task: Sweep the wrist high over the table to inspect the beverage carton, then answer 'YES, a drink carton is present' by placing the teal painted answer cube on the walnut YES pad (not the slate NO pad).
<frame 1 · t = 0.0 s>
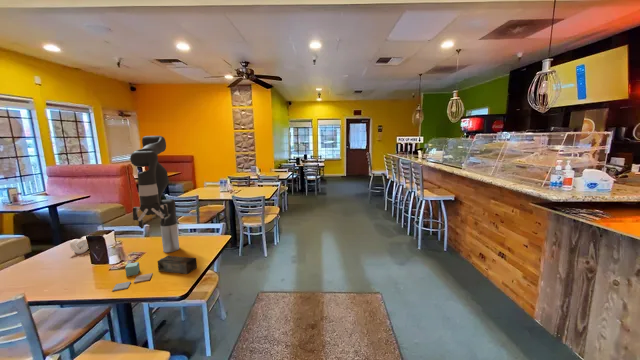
hand: (152, 226, 129), 29 cm above the table, fingers open, 8 cm apart
answer cube: (133, 273, 145), on the table
beverage carton: (178, 270, 148), on the table
white crumpled lump: (82, 252, 175), on the table
no pad: (121, 286, 131), on the table
yes pad: (143, 278, 139), on the table
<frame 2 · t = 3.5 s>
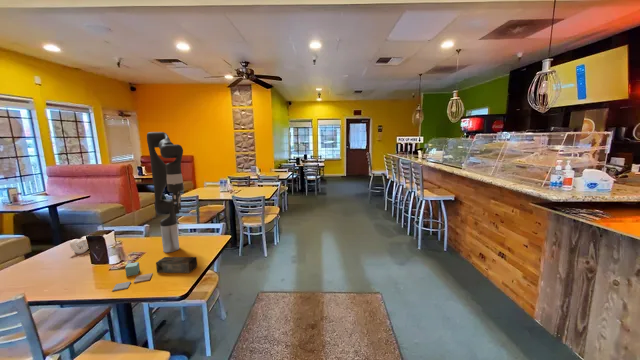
hand: (178, 211, 146), 32 cm above the table, fingers open, 8 cm apart
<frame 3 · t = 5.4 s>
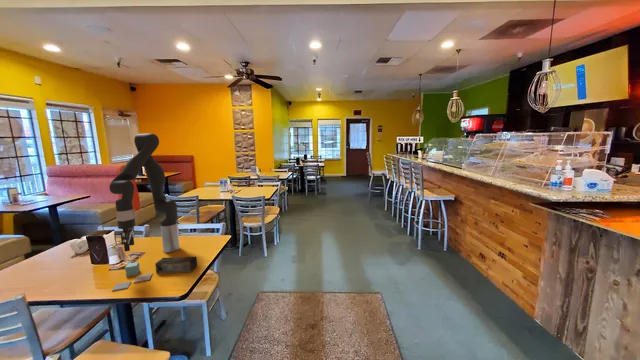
hand: (129, 248, 143), 14 cm above the table, fingers open, 8 cm apart
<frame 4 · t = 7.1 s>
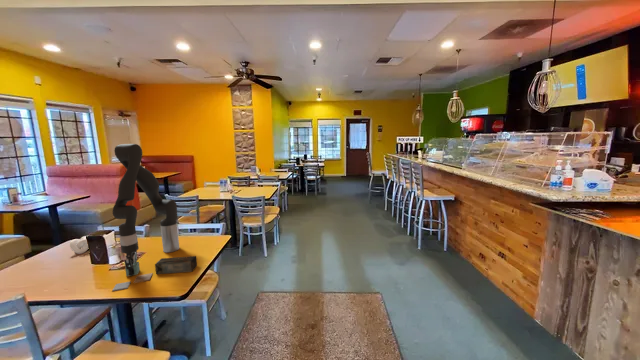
hand: (133, 272, 145), 0 cm above the table, fingers closed on answer cube, 5 cm apart
answer cube: (133, 273, 145), on the table, touching gripper
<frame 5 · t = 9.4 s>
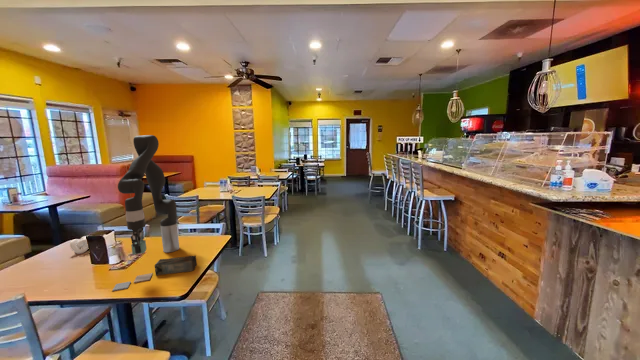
hand: (139, 250, 137), 15 cm above the table, fingers closed on answer cube, 5 cm apart
answer cube: (139, 251, 137), point 15 cm above the table, touching gripper
when the fingers open (3 cm above the table, at t = 11.7 s): answer cube drops 1 cm, resting on yes pad.
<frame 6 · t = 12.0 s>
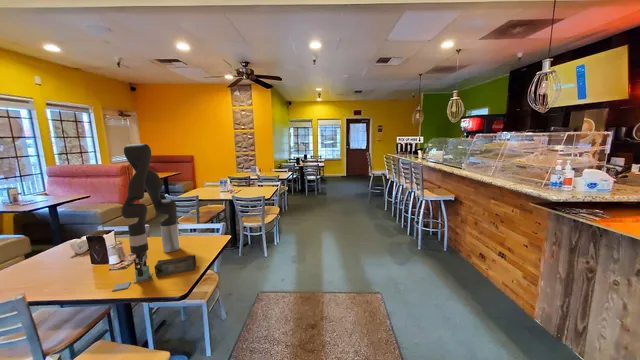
hand: (142, 272, 138), 3 cm above the table, fingers open, 8 cm apart
answer cube: (143, 277, 139), point 1 cm above the table, touching yes pad
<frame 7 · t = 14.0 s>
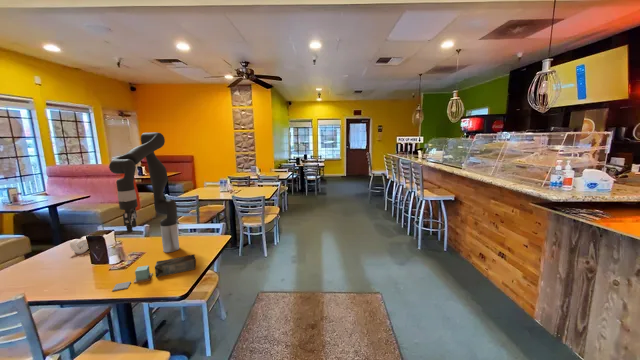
hand: (132, 229, 138), 25 cm above the table, fingers open, 8 cm apart
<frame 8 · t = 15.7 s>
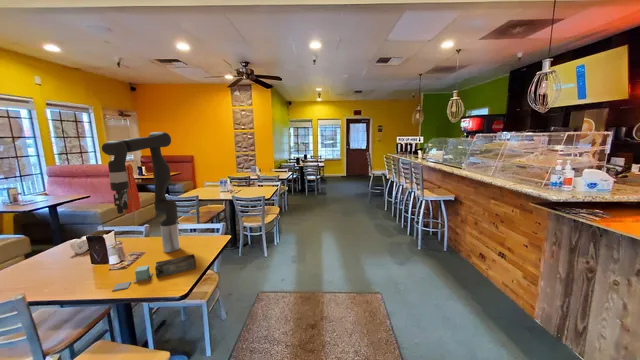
hand: (123, 211, 140), 34 cm above the table, fingers open, 8 cm apart
at the end: answer cube inside the target area on the yes pad (0.1 cm from its centre), point 0.6 cm above the yes pad's base; answer cube tilted 0°; the gripper is holding nothing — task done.
